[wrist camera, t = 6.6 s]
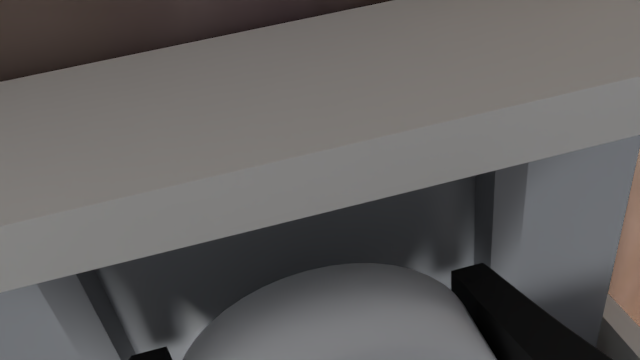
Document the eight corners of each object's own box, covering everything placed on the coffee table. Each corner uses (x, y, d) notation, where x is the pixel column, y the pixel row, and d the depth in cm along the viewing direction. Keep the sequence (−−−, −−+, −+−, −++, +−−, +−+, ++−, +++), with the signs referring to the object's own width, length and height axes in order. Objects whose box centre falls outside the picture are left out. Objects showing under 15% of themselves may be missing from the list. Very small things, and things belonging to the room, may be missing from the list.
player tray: (664, -70, 10) (938, -13, 6) (578, 361, 17) (688, 505, 13) (-258, 119, 8) (-584, 337, 5) (62, 511, 15) (27, 723, 12)
